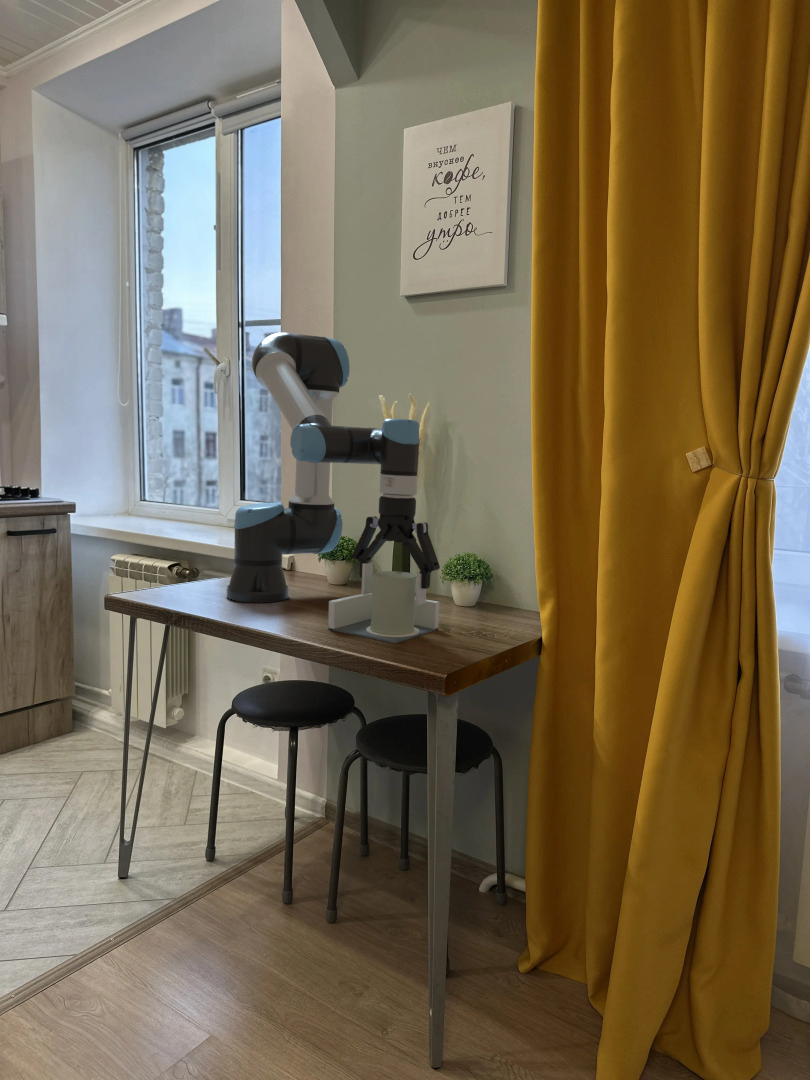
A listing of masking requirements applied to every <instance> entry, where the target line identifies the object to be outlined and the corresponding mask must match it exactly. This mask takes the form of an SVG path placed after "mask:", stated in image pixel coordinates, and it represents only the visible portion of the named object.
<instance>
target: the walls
mask: <svg viewBox="0 0 810 1080" xmlns="http://www.w3.org/2000/svg"><path fill="white" fill-rule="evenodd" d="M415 600H416V597H415ZM371 612H372V593H369V594H365V595H363V594H361V593H359V594H355V595H351V596H350V595H349V596H346V597H340V598H337V599H332V600H329V601H328V624H327V625H328V626H327V630H328V629H330V628H331V630H330V631H333V630H332V629H335V628H339V627H342V626H346V625H350V624H353V623H357V622H361V621H365V620H368V619H371ZM439 618H440V601H438V600H436V601H435V600H431V599H426V603H425V604H421V605H415V609H414V625H417V626H422V627H427V628H433V629H435V630H434V631H433V632H435V631H437V630H436V628H438V629H439V623H440V622H439Z"/></svg>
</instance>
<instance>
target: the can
mask: <svg viewBox="0 0 810 1080" xmlns="http://www.w3.org/2000/svg"><path fill="white" fill-rule="evenodd" d="M372 577H373V578H372V612H371V626H370V629H371V630H372V631H373V632H376V633H381V634H388V635H403V634H409V633H412V632H414V630H415V629H414V609H415V598H416V581H417V574H415V573H412V572H406V571H405V572H404V571H399V570H394V571H393V570H389V571H388V570H385V571H384V570H383V571H375V572H373V574H372Z"/></svg>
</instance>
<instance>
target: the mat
mask: <svg viewBox="0 0 810 1080" xmlns="http://www.w3.org/2000/svg"><path fill="white" fill-rule="evenodd" d="M370 626H371V619H368V620H365V621H361V622H357V623H353V624H350V625H346V626H342V627H339V628H335V629H332V630H331V628H330V629H328V628H327V630H329V631H333V632H338V633H343V634H348V635H353V636H358V637H362V638H367V639H371V640H377V641H381V642H385V643H391V644H398V643H402V642H405V641H408V640H412V639H414V638H417V637H420V636H423V635H425V634H428V633H431V632H435V631H438V630H439V627H438V628H436V630H435V629H433V628H427V627H422V626H417V625H414V629H415V630H414V632H412V633H409V634H403V635H388V634H381V633H376V632H373V631H372V630H371V629H370ZM434 630H435V631H434Z"/></svg>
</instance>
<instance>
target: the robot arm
mask: <svg viewBox="0 0 810 1080" xmlns="http://www.w3.org/2000/svg"><path fill="white" fill-rule="evenodd" d="M251 365H252V366H251V367H252V371H253V374H254V377H255V378H256V380H257V382H258V383H259V385H261V386H262V387H264V388H265V389H267V390H268V392H269V393H270V395H271V396H272V398H273V400H274V402H275V403H276V405H277V406H278V408H279V411H281V413H282V415H283V417H284V419H285V420H286V421H287V423H288V425H289V427H290V428H291V430H292V431H291V433H290V442H289V443H290V445H289V446H290V449H291V454H292V456H293V458H295V481H294V483H295V485H294V494H293V496H291V497H290V498H289V499H288V507H286V508H285V506H284V504H283V503H282V502H278V501H277V502H275V501H272V502H260V503H259V502H258V503H252V504H247V505H243V506H240V507H238V509H236V511H235V514H234V515H235V517H234V524H233V528H234V556H233V557H234V564H233V569H232V573H231V576H230V580H229V584H228V585H227V587H226V598H227V597H228V598H229V600H231V599H232V601H234V600H235V602H242V603H275V602H280V601H281V602H282V601H284V600H286V599H288V598H289V593H290V592H289V586H288V585H287V582H286V577H285V573H284V570H283V556H284V555H295V554H296V555H300V554H314V555H317V554H321V553H329V552H331V551H333V550H334V549H335V548H336V547H337V546H338V544H339V542H340V539H341V537H342V534H343V533H342V532H343V525H344V524H343V523H344V522H343V518H342V513H341V511H340V510H339V509H338V508H336V507H335V500H334V499H332V498H331V496H330V477H331V476H330V475H331V463H335V464H337V463H339V464H341V463H342V464H361V465H362V464H363V465H380V472H379V473H380V478H379V479H380V480H379V493H380V494H382V496H379V498H378V514H379V518H378V517H377V516H374V515H373V516H367V517H366V518H365V519H366V520H365V526H364V529H363V530H362V532H361V535H360V536H359V539H358V542H357V544H356V546H355V548H354V550H353V552H352V554H351V557H352V559H354V560H357V561H358V562H359V577H360V578H361V589H360V590H361V593H360V594H363V595H365V594H369V593H372V578H373V577H372V574H373V573H374V572H373V571H374V562H372V559H373V557H374V556H375V555H376V554H377V552H379V550H380V549H381V548H382V547H383V546H384V544H385V543H386V542H395V543H402V545H403V546H405V547H406V549H407V551H408V553H409V554H410V556H411V557H412V559H413V561H414V562H415V564H416V566H417V568H418V569H419V570H420V571H419V572H416V576H417V577H416V588H415V598H416V600H415V605H421V604H425V603H426V600H427V589H429V588H430V586H431V574H432V572H433V571H434V572H435V571H438V570H440V568H441V567H440V562H439V559H438V556H437V554H436V550H435V548H434V546H433V545H434V544H433V543H432V540H431V537H430V535H429V524H428V522H425V521H423V522H415V517H416V512H417V509H416V507H417V499H416V498H415V496H417V491H418V471H419V456H420V442H421V438H420V423H419V422H418V421H417V420H416V419H409V418H408V419H407V418H406V419H405V418H385V419H384V420H383V422H382V427H381V428H377V427H357V426H342V425H341V426H339V425H332V424H333V405H334V403H333V402H334V400H335V398H337V397H338V396H339V394H340V388H342V387H344V386H345V385H346V384H347V382H348V380H349V379H348V378H349V375H350V360H349V354H348V351H347V350H346V348H345V345H344V344H343V343H342V342H341V341H340V340H338V339H336V338H335V339H334V338H329V337H326V336H317V335H307V334H299V333H297V334H296V333H291V332H276V333H272V334H271V335H268V336H267V337H265V338H264V339H262V340H261V341H260V342H259V343H258V345H256V348H255V349H254V351H253V355H252V358H251ZM377 528H378V529H379V531H378V533H377V534H376V535H375V533H376V531H377ZM413 532H414V533H415V534H416V537H417V538H416V537H415V534H413ZM374 535H375V538H374ZM373 538H374V539H373ZM372 539H373V541H372ZM417 540H418V542H417ZM371 541H372V542H371ZM418 543H419V544H418ZM228 598H227V599H228Z"/></svg>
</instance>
